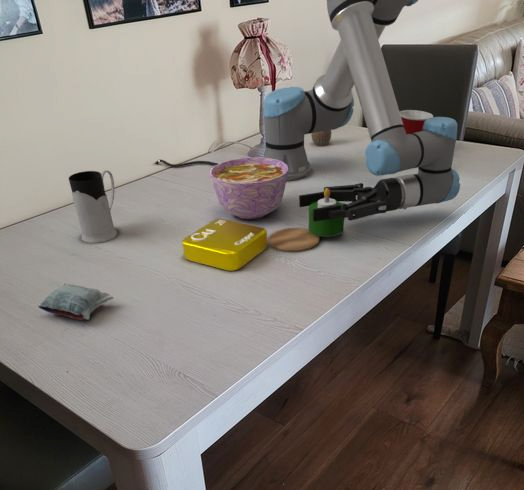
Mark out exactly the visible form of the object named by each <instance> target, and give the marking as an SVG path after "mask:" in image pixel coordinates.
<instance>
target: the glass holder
mask: <svg viewBox="0 0 524 490" xmlns="http://www.w3.org/2000/svg"><path fill="white" fill-rule="evenodd" d="M106 173H108V175H109V178H110V183H111V195H110V200H109V199H108V196H107V193H106V189H105V182H104V176H105V174H106ZM68 182H69V186H70V190H71V196H72V200H73V204H74V207H75V211H76V216H77V219H78V222H79V226H80V229H81V240H82V241H83V242H85V243H89V244H97V243H104V242H107V241H110V240H112V239H114V238H115V237H116V236H117V234H118V231H117V230H116V229H115V225H114V222H113V217H112V213H111V209H112V208H113V205H114V204H113V203H114V201H115V181H114V176H113V173H112V172H111V171H109V170H103V171H102V172H100V171H97V170H86V171H85V170H84V171H79V172H75V173H73V174H71V175H69V176H68Z"/></svg>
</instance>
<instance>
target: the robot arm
mask: <svg viewBox="0 0 524 490" xmlns="http://www.w3.org/2000/svg"><path fill="white" fill-rule="evenodd" d="M418 2H419V0H326V9H327V14H328V15H327V16H328V18H329V22H330V25H331V28H332V29H333V30H334V31H337V32H338V35H339V38H340V41H339V43H338V45H337V47H336V49H335V52H334V53H333V56H332V58H331V60H330V63H329V64H328V66H327V69H326V70H325V74H322V75H320V76H319V77H318V78H316V80H315V82H314V84H313V87H312V88H311V89H310V90H304V89H303V88H302V87H300V86H289V87H281V88H278V89H275V90H273V91H270V92H269V93H267V95H265V96H264V99H263V111H262V113H263V114H262V115H263V122H264V125H263V126H264V141H265V148H264V153H263V157H262V158H271V159H276V160H279V161H282V162H284V163H285V164H287V165H288V169H289V170H288V176H287V180H286V182H289V181H296V180H301V179H304V178H306V177H308V176H309V175H310V173H311V163H310V161H309V160H308V155H307V151H306V147H305V135H309V134H311V133H315V132H321V131H327V130H331V131H334V130H337V129H339V128H342V127H344V126H346V125H347V124H348V123H349V122H350V120H351V119H352V116H353V113H354V108H353V107H354V106H355V100H354V94H353V87H354V88H355V91H356V94H357V98H358V101H359V104H360V108H361V111H362V115H363V118H364V122H365V125H366V128H367V131H368V135H369V137H370V141H371V142H370V143H369V144H368V145H367V146H366V147H365V152H364V155H365V159H364V160H365V164H366V167H367V169H368V171H369V172H370V173H371V174H372V175H374V176H378V177H381V176H385V175H386V176H387V175H394V174H398V173H400V172H403V171H408V170H413V169H416V168H417V169H418V172H417V173H413V174H404V175H400V176H399V175H398V176H395V177H388V178H381V179H379V180H378V181H377V182H376V184H375V186H374V187H372V186H365V187H364V183H362V182H359V183H355V184H344V185H333V186H325V187H323V191H319V192H312V193H305V194H300V195H298V202H299V203H298V205H299V208H300V209H301V208H306V207H309V206H310V205H311V204H312V203H314V202H317V201H318V200H320V199H323V198H325V196H324V191H325V189H326V188H328V189H329V190H330V196H329V198H331V199H334V200H336V201H337V202H340V203H342V208H341V205H334V206H328V207H322V208H316V209H313V221H314V222H315V221H321V220H327V219H333V218H339V217H342V218H344V219H347V221H349V222H350V221H351V222H352V221H355V220H359V219H362V218H368V217H370V216H374V215H378V214H385V213H387V212H391V211H392V212H393V211H396V210H407V209H408V208H409V209H410V208H413V207H421V206H427V205H434V204H440V203H445V202H449V201H451V200H453V199H455V198H456V197H457V196H458V194H459V192H460V189H461V183H460V179H461V178H460V175H459V174H458V172H457V171H456V170H455V169H453V167H452V166H453V161H454V156H455V155H454V154H455V150H456V149H455V148H456V143H457V140H458V138H457V136H458V126H459V125H458V122H457V121H456V119H454V118H451V117H447V116H433V117H432V118H429V119H427V120H426V121H425V122H424V126H423V128H422V130H423V131H421V132H416V133H411V134H406V132H405V129H404V125H403V122H402V119H401V115H400V109H399V105H398V102H397V99H396V96H395V92H394V89H393V86H392V81H391V78H390V75H389V72H388V68H387V64H386V61H385V58H384V53H383V51H382V48H381V44H380V37H381V35H382V34H383V32H384V30H385V29H386V27H388V26H391V25H393V24H394V23H395V22H396V21H397V19H398V17H399V15H400V14H401V12H402V11H403V9H404V7H411V6H412V5H415V4H416V3H418ZM159 160H160V162H158V160H156V161H155V163H154V165H158V164H159V163H162V164H164V165H166V166H168V167H172V168H178V167H179V168H180V167H185V166H191V165H196V164H207V165H212V166H216V165H218V164H220V162H219V163H218V162H214V161H209V160H195V161H188V162H184V163H176V164H175V163H170V162H168V161H166V160H164V159H159ZM345 202H350V203H345Z"/></svg>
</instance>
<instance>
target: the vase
mask: <svg viewBox="0 0 524 490" xmlns="http://www.w3.org/2000/svg"><path fill="white" fill-rule="evenodd" d="M310 134H311V140H312V142H313V144H314V145H315V146H319V147H323V146H324V147H325V146H327V145H328V144H329V143H330V141H331V139H332V130H327V131H321V132H315V133H310Z"/></svg>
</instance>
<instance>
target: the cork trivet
mask: <svg viewBox="0 0 524 490" xmlns="http://www.w3.org/2000/svg"><path fill="white" fill-rule="evenodd" d="M319 243H320V236H317V235H314V234H312V233H311V232H310V231H309V228H307V229H306V228H302V227H301V228H300V227H290V228H284V229H280V230H277V231H274V232H273V233H272V234H270V236H269V237H268V244H269V245H270V246H271V247H272V248H273V249H274V250H278V251H282V252H287V253H288V252H289V253H296V252H305V251H308V250H311V249H313V248H315V247H316V246H317V245H319Z"/></svg>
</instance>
